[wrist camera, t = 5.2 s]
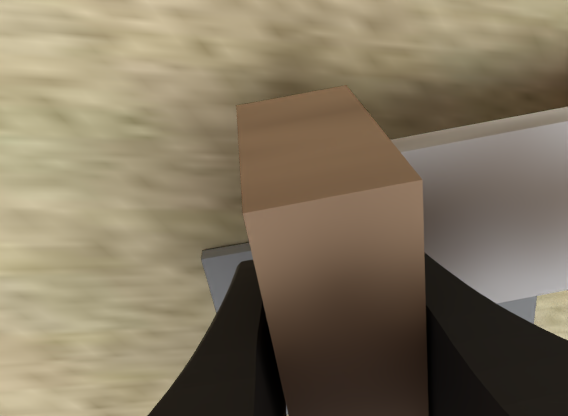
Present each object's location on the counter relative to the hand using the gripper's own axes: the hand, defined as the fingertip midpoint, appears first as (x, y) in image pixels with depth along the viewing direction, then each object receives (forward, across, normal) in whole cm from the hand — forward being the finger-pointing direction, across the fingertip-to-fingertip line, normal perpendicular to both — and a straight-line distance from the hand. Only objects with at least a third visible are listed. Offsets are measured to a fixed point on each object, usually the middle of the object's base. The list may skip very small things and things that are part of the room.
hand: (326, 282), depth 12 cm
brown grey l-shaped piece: (+2, -4, 0) cm, 4 cm away
